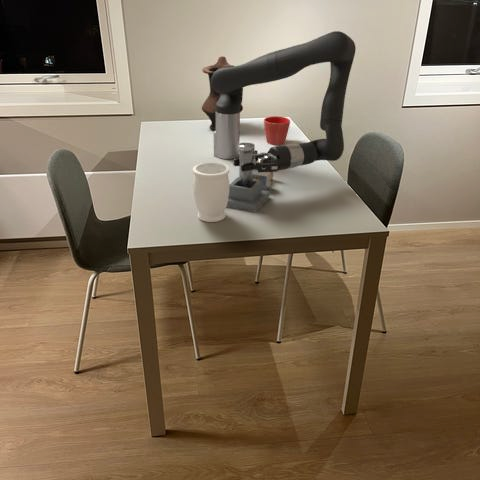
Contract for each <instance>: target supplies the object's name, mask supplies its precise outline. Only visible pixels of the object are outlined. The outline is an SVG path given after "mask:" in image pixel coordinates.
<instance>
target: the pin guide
mask: <svg viewBox="0 0 480 480" xmlns="http://www.w3.org/2000/svg"><path fill="white" fill-rule="evenodd" d="M270 174H271V173H270V172H258V170H257V171H254V170H252V181H253V179H254V178H255V177H258V178H259V181H262V190H264V191H269V189H270V188H271V179H270Z"/></svg>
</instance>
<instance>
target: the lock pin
mask: <svg viewBox="0 0 480 480" xmlns="http://www.w3.org/2000/svg"><path fill="white" fill-rule="evenodd" d="M270 173H271V174H270V181H272V180H273V179H274V178H273V177H274V172H270ZM253 180H259V178H258V177H255V178H254V179H253Z"/></svg>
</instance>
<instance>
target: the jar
mask: <svg viewBox="0 0 480 480" xmlns="http://www.w3.org/2000/svg"><path fill="white" fill-rule="evenodd" d="M192 172H193V175H194V176H193V183H192V184H193V185H192V191H193V197H194V201H195V206H196V209H197V211H198V213H197V217H198V219H199V220H201V221H203V222H205V223H206V222H207V223H217V222H221V221H222V220H224V219H225V218H226V216H227V215H226V212H225V211H226V208H227V203H228V197H229V185H230V180H229V173H230V167H229V166H228V165H226V163H225V164H224V163H221V162H217V161H215V162H214V161H207V162H206V161H205V162H201V163H197V164H196V165H194V166H193V167H192Z"/></svg>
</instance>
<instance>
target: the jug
mask: <svg viewBox="0 0 480 480" xmlns="http://www.w3.org/2000/svg"><path fill="white" fill-rule="evenodd" d="M229 65H230V64H229V63H228V61H227V58H226V56H219V57H218V60H217V62H216V63H215V64H211V65H208V66H204V67H203V68H202V70H201V71H202V72H203V73H204V74H207V76H208V80H209V81H208V82H209V89H210V90H209V95H208V96H207V98H206V99H205V101H203V102H204V103H203V104H202V106H201V111H202V112H203V113H204V114H205V115H206V116H207V117H208V119H209V120H210V122H211V124H210V125H209V130H211V131H213V132H214V131H216V111H215V106H216V103H217V101H218V100H219V97H220V93H217V92H216V91H215V90H214V89H213V88H212V86H211V77H212V75H213V73H214V72H215V71H216V70H218V69H219V68H222V67H225V66H229ZM242 104H243V103H242ZM242 104H241V106H240V113H241V112H242V111H243V109H244V107H243V105H242Z"/></svg>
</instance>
